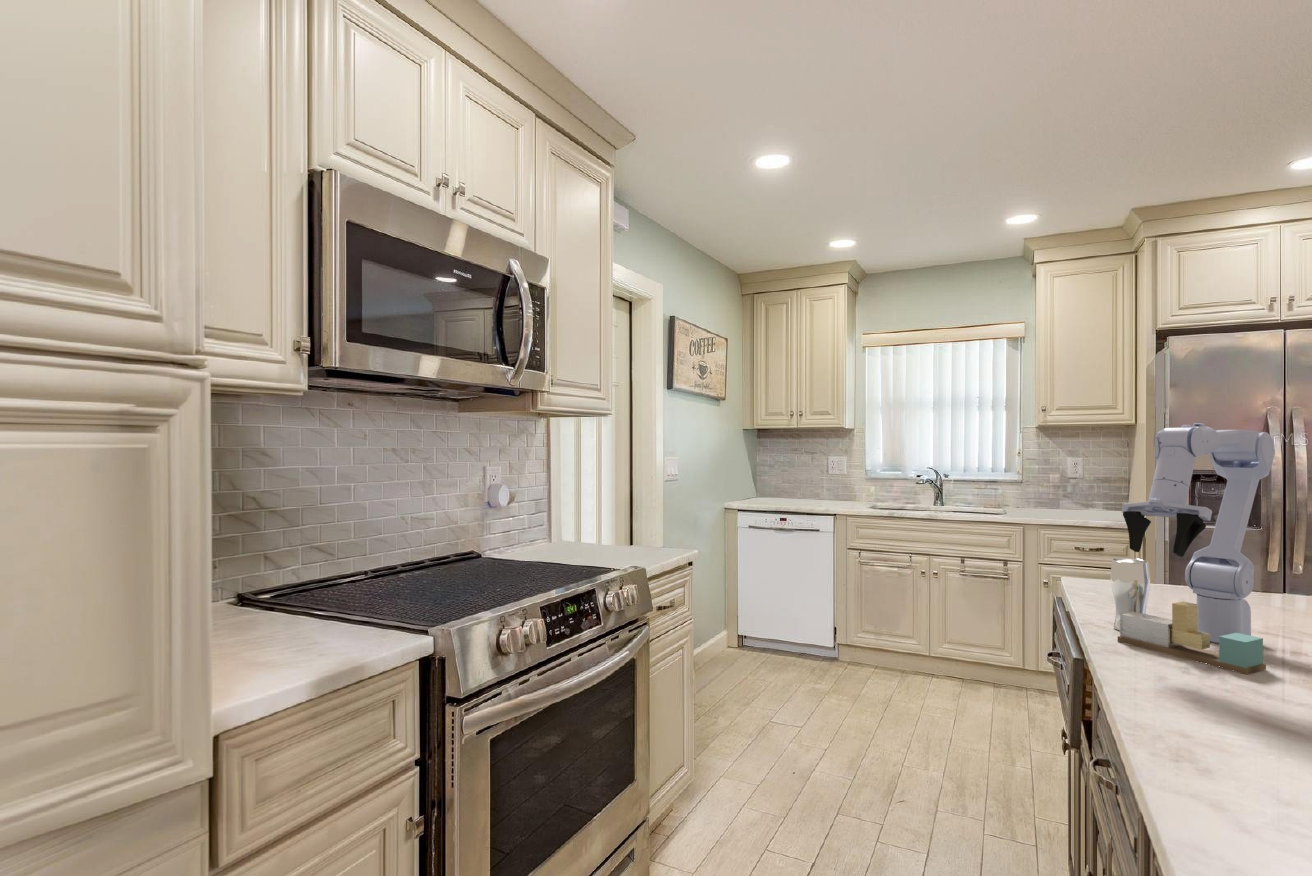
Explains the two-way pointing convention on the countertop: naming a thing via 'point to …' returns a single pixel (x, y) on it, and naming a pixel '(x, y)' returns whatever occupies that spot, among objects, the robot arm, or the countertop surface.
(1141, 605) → the beer glass
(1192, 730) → the countertop surface
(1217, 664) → the board
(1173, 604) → the wooden l-shaped block
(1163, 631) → the white rectangular block
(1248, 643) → the teal rectangular block
